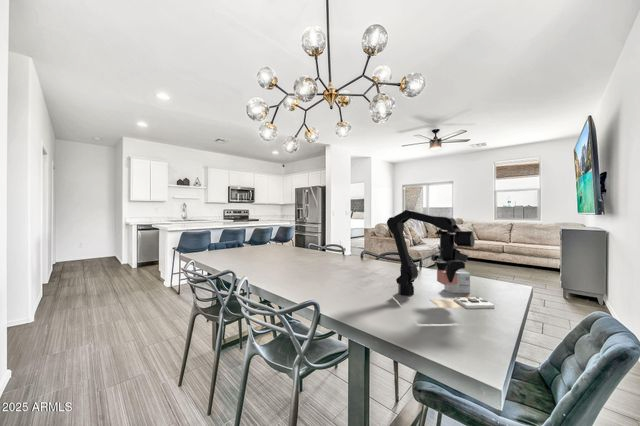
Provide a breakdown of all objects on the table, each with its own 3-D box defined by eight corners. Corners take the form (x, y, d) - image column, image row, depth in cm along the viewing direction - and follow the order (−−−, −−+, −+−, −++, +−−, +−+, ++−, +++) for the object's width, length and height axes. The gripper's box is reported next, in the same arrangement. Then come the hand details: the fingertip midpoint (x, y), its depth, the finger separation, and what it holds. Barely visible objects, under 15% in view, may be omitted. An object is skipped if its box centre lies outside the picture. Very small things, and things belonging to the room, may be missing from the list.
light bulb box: (464, 290, 140) (464, 270, 140) (470, 294, 133) (470, 273, 133) (443, 290, 141) (443, 269, 141) (448, 294, 134) (448, 272, 134)
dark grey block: (472, 306, 116) (472, 300, 116) (468, 303, 119) (468, 298, 119) (478, 306, 116) (479, 300, 116) (474, 303, 119) (474, 298, 119)
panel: (466, 310, 113) (466, 304, 113) (454, 301, 123) (454, 296, 123) (494, 309, 113) (494, 304, 113) (479, 301, 123) (479, 296, 123)
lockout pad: (439, 309, 113) (439, 307, 113) (429, 301, 123) (429, 299, 123) (463, 309, 114) (463, 307, 114) (450, 301, 124) (450, 299, 124)
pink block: (443, 284, 115) (443, 273, 115) (437, 281, 121) (437, 270, 121) (457, 284, 115) (457, 273, 115) (450, 280, 121) (450, 269, 121)
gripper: (478, 248, 109) (477, 286, 109) (453, 242, 128) (453, 275, 128) (451, 248, 109) (450, 286, 109) (430, 242, 127) (430, 275, 127)
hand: (446, 280), depth 118 cm, fingers closed on pink block, 6 cm apart
